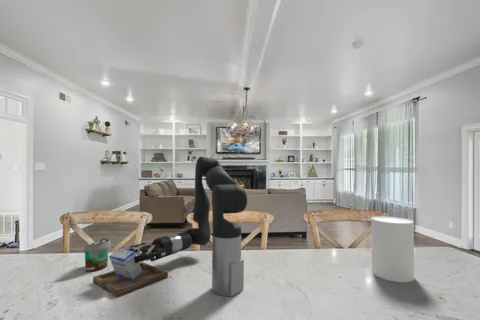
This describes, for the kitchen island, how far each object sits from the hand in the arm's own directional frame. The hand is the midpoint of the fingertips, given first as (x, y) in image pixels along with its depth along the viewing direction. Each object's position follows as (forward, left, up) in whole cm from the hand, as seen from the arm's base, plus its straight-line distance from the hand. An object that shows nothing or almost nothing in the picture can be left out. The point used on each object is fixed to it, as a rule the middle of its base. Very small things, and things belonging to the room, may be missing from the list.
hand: (128, 257), depth 89 cm
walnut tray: (0, -1, -8) cm, 8 cm away
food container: (+20, 0, -8) cm, 22 cm away
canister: (-70, -63, -8) cm, 95 cm away
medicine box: (0, -1, -6) cm, 6 cm away
